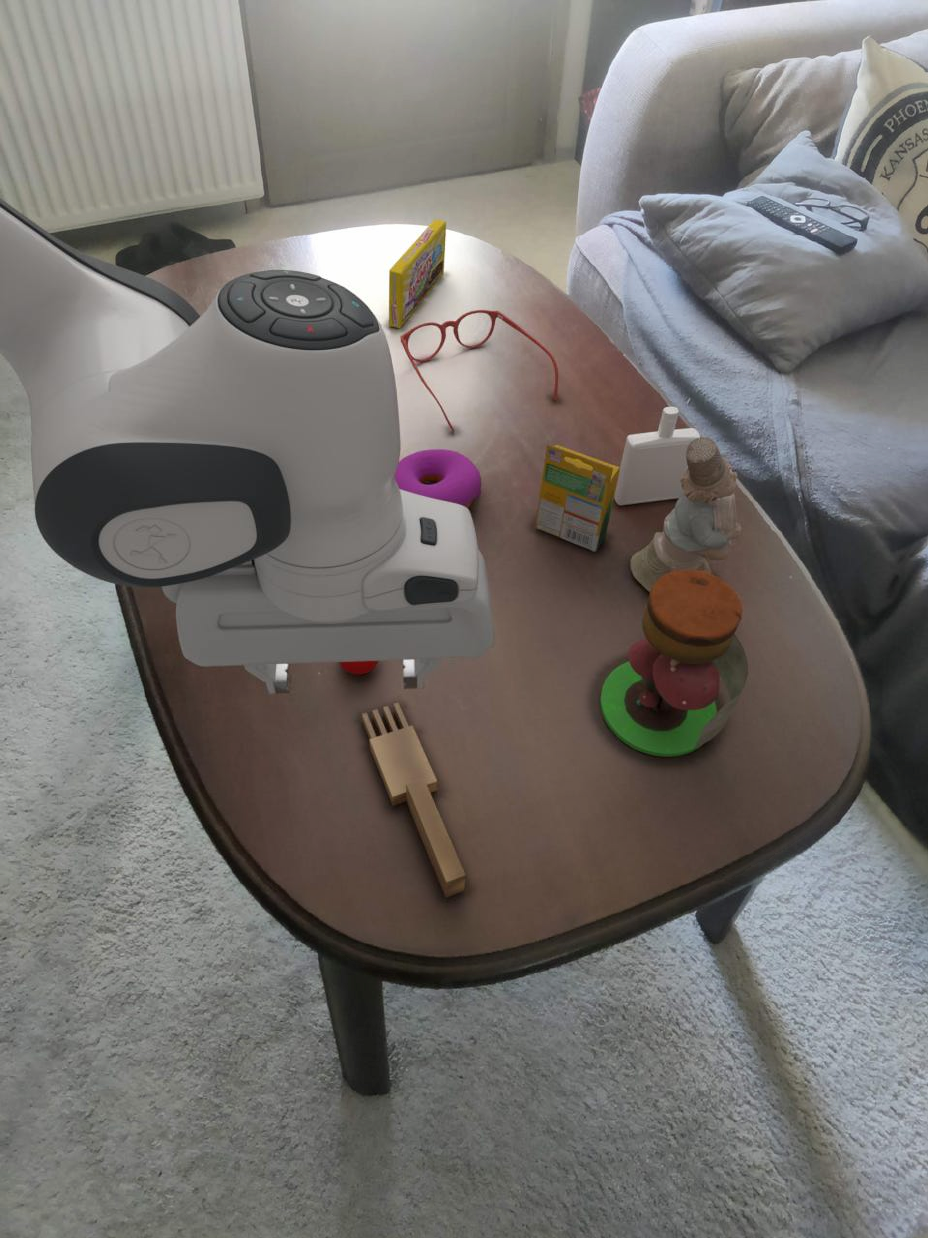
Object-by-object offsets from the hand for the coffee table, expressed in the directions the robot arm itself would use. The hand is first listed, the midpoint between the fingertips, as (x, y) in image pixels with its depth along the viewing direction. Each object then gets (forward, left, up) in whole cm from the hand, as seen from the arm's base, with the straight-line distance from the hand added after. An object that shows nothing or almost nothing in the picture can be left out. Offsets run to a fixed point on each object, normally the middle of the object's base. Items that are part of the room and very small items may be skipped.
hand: (347, 683), depth 62 cm
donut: (+19, +32, -16) cm, 40 cm away
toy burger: (+28, -2, -16) cm, 32 cm away
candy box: (+32, +72, -16) cm, 80 cm away
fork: (+4, -3, -15) cm, 16 cm away
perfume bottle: (+42, +24, -16) cm, 51 cm away
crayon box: (+31, +22, -16) cm, 41 cm away
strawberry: (+4, +13, -14) cm, 19 cm away
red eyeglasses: (+32, +51, -16) cm, 62 cm away
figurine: (+38, +12, -16) cm, 43 cm away
